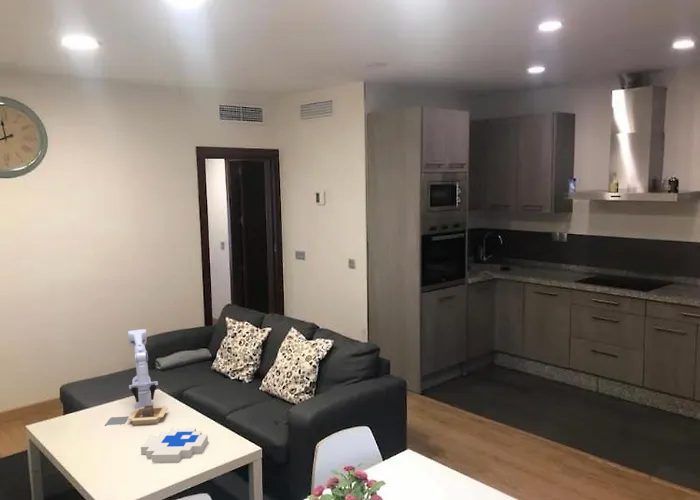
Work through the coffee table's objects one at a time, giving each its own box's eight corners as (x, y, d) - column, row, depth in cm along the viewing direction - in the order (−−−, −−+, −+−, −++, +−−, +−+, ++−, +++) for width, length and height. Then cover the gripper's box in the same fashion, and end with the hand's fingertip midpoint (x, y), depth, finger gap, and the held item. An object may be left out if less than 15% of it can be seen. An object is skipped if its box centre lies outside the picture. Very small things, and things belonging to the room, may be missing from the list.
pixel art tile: (155, 428, 291) (211, 427, 290) (156, 436, 291) (212, 435, 291) (134, 455, 263) (195, 454, 262) (134, 463, 264) (196, 462, 263)
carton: (135, 413, 320) (135, 407, 319) (169, 411, 321) (168, 405, 321) (126, 427, 302) (125, 420, 301) (162, 425, 304) (161, 418, 303)
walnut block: (146, 416, 315) (145, 405, 314) (153, 415, 315) (153, 405, 314) (143, 421, 308) (142, 410, 307) (150, 421, 308) (150, 410, 308)
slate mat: (110, 418, 315) (110, 417, 314) (129, 416, 315) (129, 416, 315) (104, 425, 305) (104, 425, 305) (124, 424, 306) (124, 423, 306)
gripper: (126, 377, 306) (128, 403, 305) (154, 373, 307) (157, 399, 306) (130, 376, 313) (132, 401, 312) (158, 372, 314) (160, 398, 313)
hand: (144, 400), depth 309 cm, fingers open, 7 cm apart
